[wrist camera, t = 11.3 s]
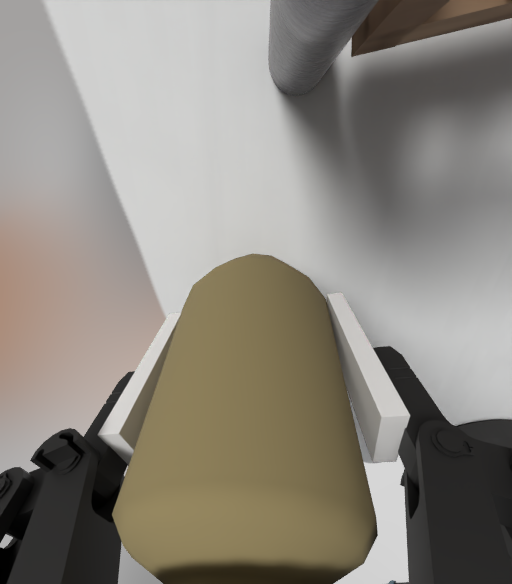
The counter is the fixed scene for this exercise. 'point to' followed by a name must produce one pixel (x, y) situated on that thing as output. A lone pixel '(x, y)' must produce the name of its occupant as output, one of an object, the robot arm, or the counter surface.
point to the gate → (423, 21)
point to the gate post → (310, 38)
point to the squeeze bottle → (249, 441)
